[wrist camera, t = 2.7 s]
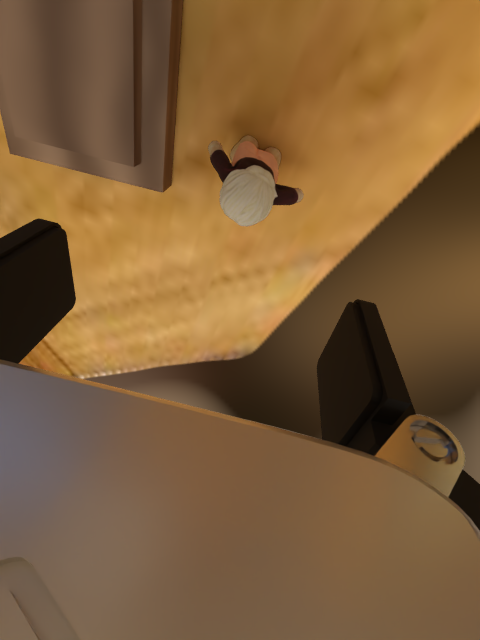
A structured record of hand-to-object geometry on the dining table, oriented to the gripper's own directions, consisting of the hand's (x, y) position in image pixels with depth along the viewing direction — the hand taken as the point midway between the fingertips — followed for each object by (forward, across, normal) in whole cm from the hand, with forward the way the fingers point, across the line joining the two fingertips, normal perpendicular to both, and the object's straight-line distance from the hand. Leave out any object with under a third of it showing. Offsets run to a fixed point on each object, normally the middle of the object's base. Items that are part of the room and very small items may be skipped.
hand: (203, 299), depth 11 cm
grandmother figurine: (+22, 0, 0) cm, 22 cm away
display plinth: (+22, +15, -4) cm, 27 cm away
